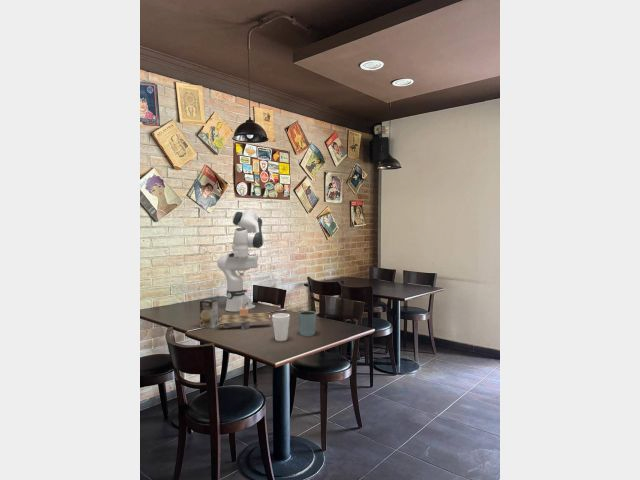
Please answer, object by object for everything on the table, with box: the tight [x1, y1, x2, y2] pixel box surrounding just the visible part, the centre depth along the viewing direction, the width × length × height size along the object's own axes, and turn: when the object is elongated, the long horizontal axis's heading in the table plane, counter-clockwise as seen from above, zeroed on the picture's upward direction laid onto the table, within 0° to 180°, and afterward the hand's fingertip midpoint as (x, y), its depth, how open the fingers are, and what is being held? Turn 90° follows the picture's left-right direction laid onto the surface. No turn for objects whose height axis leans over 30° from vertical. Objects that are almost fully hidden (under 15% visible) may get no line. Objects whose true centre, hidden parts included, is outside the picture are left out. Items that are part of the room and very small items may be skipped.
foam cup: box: [271, 312, 291, 342], centre depth 212 cm, size 10×9×13 cm
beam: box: [218, 312, 272, 330], centre depth 235 cm, size 30×8×8 cm, turn 102°
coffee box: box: [199, 298, 219, 329], centre depth 238 cm, size 9×6×16 cm
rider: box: [239, 306, 249, 316], centre depth 235 cm, size 5×6×6 cm
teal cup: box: [298, 310, 317, 337], centre depth 222 cm, size 10×10×12 cm
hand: (241, 275), depth 248 cm, fingers closed
